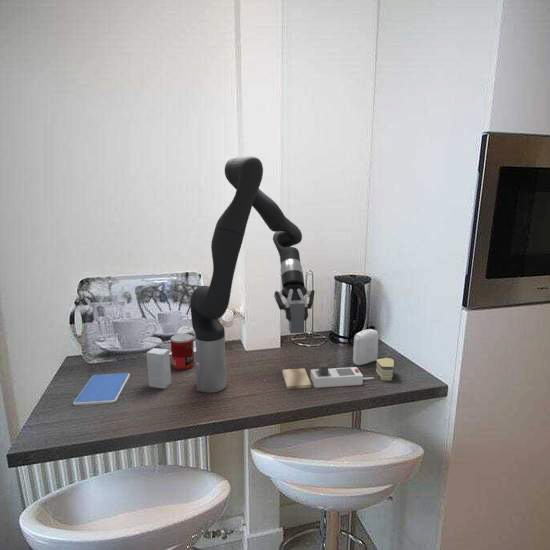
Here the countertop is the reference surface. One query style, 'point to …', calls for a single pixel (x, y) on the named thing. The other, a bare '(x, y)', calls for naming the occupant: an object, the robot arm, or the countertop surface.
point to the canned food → (182, 351)
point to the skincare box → (159, 368)
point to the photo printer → (365, 347)
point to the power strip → (336, 376)
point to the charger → (297, 316)
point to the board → (296, 378)
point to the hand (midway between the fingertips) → (297, 319)
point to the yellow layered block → (385, 368)
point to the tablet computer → (102, 389)
